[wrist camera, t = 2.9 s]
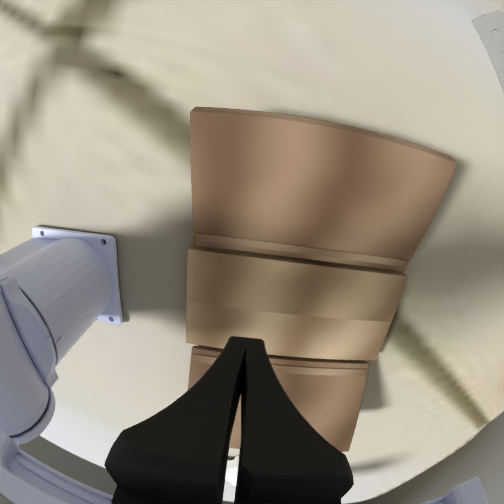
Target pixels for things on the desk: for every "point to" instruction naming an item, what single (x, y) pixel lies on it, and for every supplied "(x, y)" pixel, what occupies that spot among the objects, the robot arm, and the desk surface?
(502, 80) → the hinge
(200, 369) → the plank
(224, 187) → the plank
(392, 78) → the desk surface
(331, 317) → the floor board
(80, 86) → the desk surface
